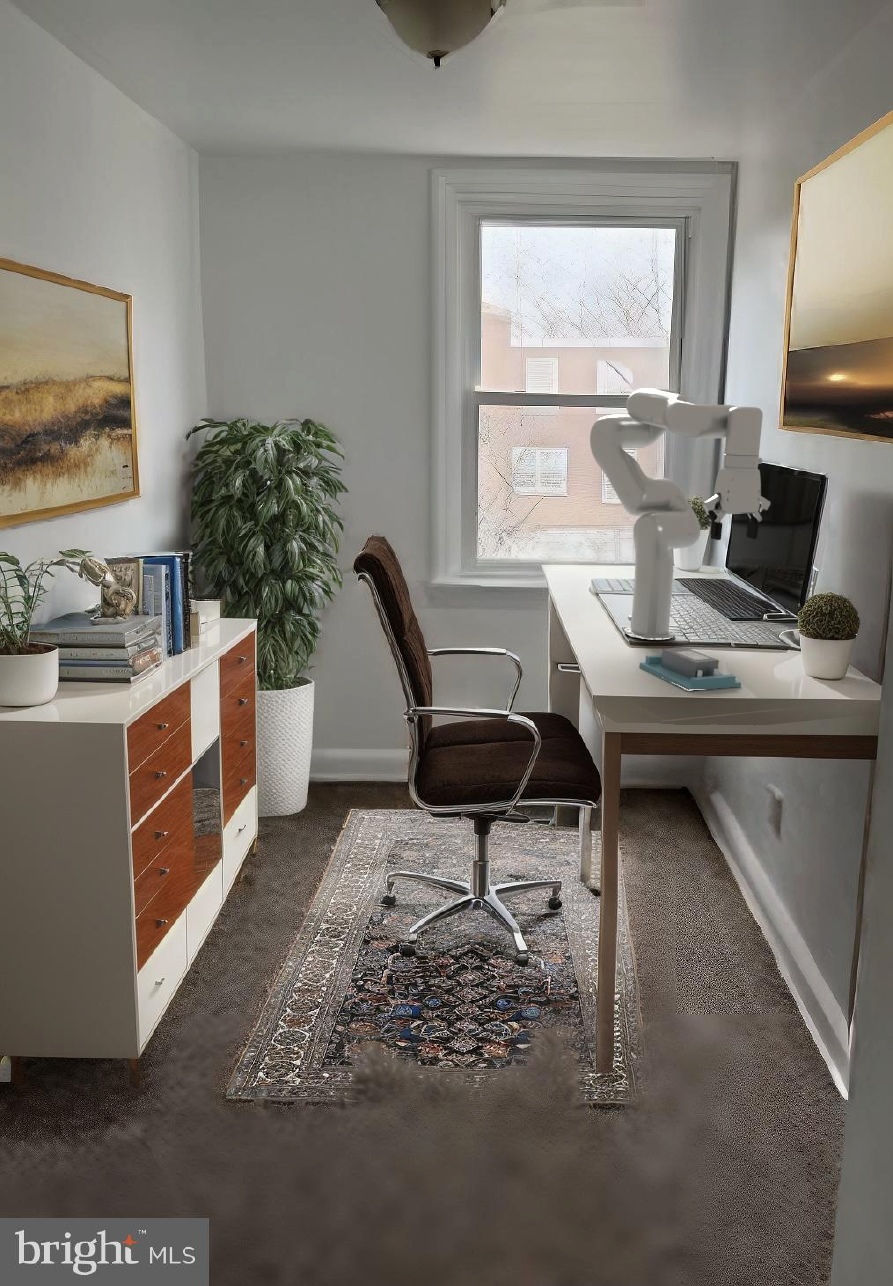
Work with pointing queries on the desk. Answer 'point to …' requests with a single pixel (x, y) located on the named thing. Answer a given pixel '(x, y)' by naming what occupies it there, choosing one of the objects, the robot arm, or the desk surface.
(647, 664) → the blue pegged tray
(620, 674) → the desk surface
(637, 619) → the robot arm
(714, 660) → the block
